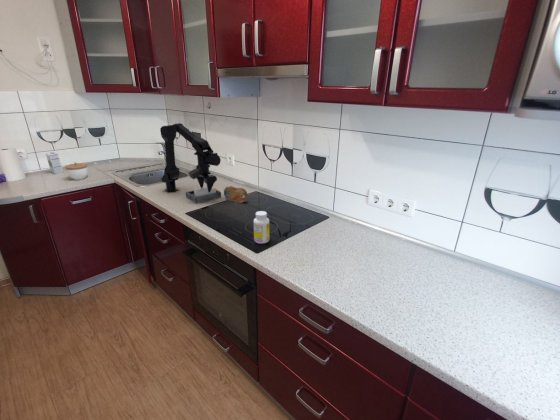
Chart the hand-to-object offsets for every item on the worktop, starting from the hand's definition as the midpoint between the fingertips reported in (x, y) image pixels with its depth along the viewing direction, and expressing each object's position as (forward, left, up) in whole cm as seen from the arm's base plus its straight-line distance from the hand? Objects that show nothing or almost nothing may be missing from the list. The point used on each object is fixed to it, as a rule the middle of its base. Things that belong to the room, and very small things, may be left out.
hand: (205, 190), depth 172 cm
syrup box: (-115, -60, -6) cm, 130 cm away
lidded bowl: (-90, -50, -6) cm, 103 cm away
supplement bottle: (+60, -5, -6) cm, 61 cm away
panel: (0, 0, -4) cm, 5 cm away
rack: (-3, 0, -5) cm, 6 cm away
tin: (+13, +12, -6) cm, 19 cm away
